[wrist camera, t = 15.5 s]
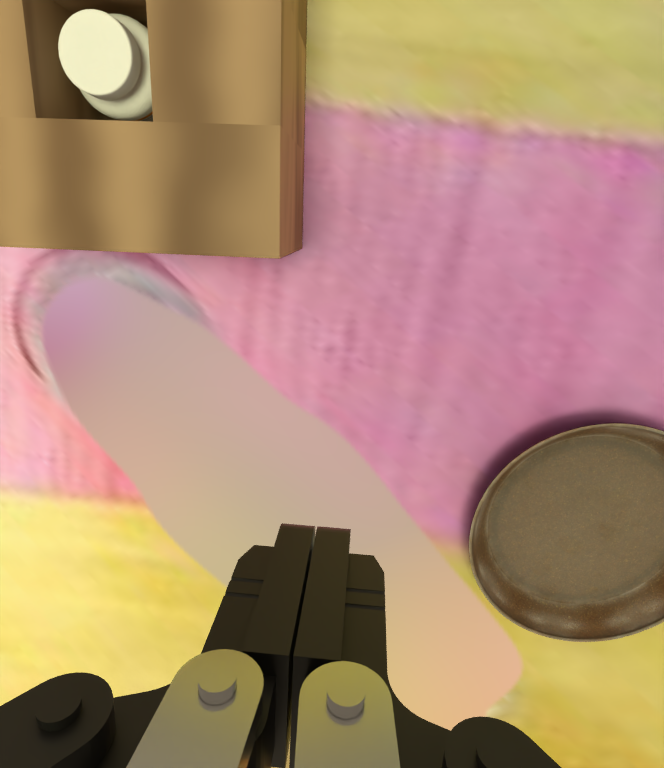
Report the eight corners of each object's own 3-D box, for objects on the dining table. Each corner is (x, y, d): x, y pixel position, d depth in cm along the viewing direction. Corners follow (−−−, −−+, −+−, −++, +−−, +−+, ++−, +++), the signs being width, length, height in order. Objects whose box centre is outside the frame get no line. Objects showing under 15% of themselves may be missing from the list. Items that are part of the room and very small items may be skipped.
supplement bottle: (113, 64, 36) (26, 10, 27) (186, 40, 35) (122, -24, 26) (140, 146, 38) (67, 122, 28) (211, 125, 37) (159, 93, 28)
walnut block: (308, -70, 34) (282, -199, 23) (302, 248, 40) (279, 258, 29) (9, -74, 35) (-143, -200, 24) (47, 237, 41) (-63, 243, 30)
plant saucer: (745, 558, 46) (773, 583, 43) (527, 649, 50) (537, 678, 47) (650, 363, 41) (673, 375, 38) (419, 482, 46) (423, 502, 42)
